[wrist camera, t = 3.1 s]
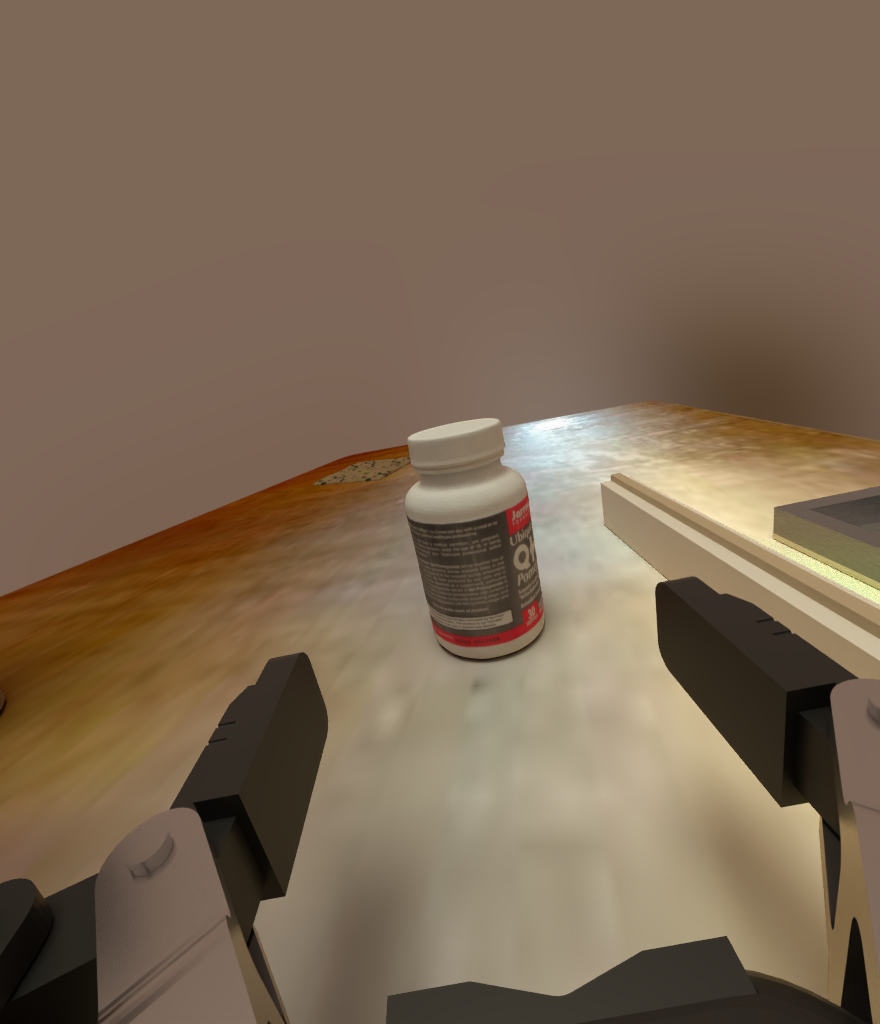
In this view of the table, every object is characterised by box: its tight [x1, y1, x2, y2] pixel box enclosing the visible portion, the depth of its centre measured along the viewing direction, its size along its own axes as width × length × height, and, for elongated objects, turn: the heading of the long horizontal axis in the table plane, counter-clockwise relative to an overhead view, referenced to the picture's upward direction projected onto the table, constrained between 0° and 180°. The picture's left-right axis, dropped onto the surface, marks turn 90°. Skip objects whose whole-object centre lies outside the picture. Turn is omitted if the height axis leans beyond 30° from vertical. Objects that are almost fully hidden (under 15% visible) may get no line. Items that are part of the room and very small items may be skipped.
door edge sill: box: [601, 473, 880, 680], centre depth 20 cm, size 20×2×3 cm, turn 2°
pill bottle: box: [405, 418, 544, 659], centre depth 20 cm, size 5×5×10 cm
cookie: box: [313, 457, 411, 485], centre depth 65 cm, size 12×12×1 cm
